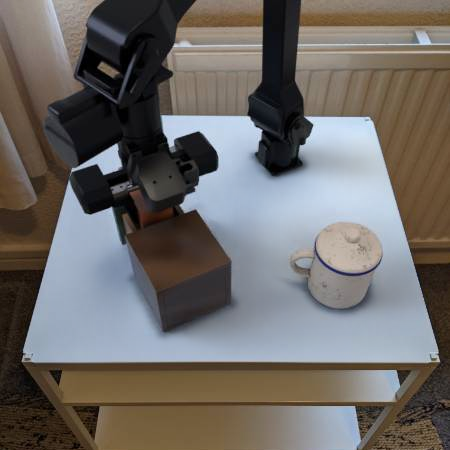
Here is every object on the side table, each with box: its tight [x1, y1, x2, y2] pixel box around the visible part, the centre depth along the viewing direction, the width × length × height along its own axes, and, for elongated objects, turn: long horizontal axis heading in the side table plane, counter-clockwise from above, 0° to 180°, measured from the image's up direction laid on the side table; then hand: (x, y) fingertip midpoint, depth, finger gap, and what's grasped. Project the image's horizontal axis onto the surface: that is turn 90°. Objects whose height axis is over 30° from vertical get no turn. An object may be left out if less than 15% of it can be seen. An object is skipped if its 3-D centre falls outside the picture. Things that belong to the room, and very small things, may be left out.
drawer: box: [111, 185, 185, 246], centre depth 75 cm, size 14×9×8 cm, turn 28°
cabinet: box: [125, 208, 233, 333], centre depth 70 cm, size 11×11×10 cm
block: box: [130, 190, 174, 229], centre depth 71 cm, size 5×5×5 cm
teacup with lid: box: [289, 221, 384, 310], centre depth 70 cm, size 12×9×12 cm
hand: (152, 216), depth 72 cm, fingers closed on block, 4 cm apart
